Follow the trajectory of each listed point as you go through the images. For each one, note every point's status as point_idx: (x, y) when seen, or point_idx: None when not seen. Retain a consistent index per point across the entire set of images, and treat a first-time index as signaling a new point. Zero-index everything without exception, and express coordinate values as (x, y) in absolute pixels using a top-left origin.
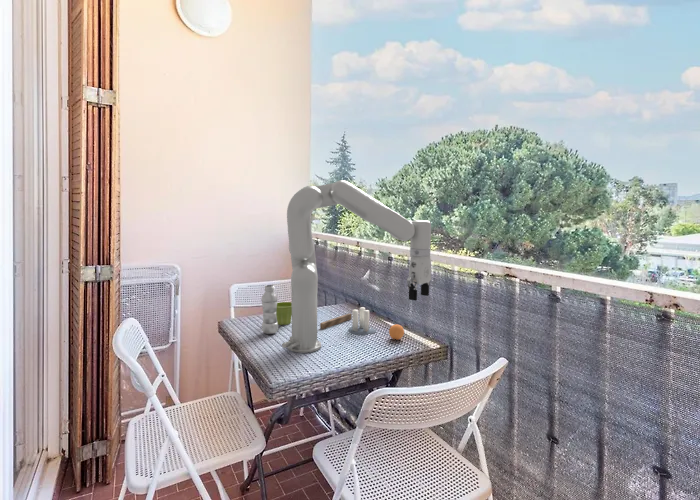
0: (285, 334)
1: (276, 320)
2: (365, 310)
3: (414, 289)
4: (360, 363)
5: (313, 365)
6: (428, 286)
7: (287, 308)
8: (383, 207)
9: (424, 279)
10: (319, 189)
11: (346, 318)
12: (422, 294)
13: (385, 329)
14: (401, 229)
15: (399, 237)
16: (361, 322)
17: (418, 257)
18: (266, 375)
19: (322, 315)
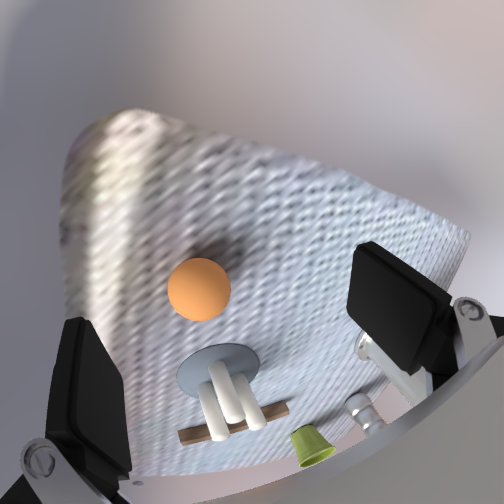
0: (345, 390)
1: (362, 412)
2: (235, 421)
3: (472, 302)
4: (400, 201)
5: (431, 252)
6: (64, 422)
7: (324, 447)
8: None
9: (499, 454)
10: None
11: (199, 431)
12: (114, 370)
13: (151, 355)
14: None
15: None
16: (216, 397)
17: None
18: (461, 261)
19: (215, 452)
